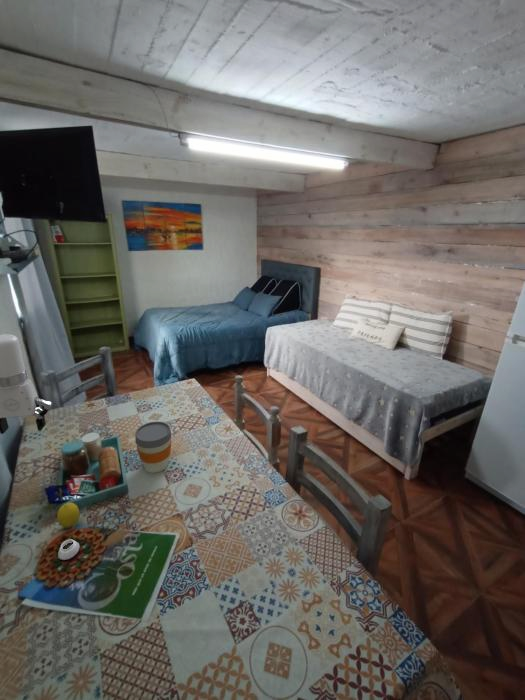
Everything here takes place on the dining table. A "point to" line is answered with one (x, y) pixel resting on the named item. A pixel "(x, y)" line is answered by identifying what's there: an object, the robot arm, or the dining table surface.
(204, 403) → the dining table surface
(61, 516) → the lemon
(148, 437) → the reusable coffee cup
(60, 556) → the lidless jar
